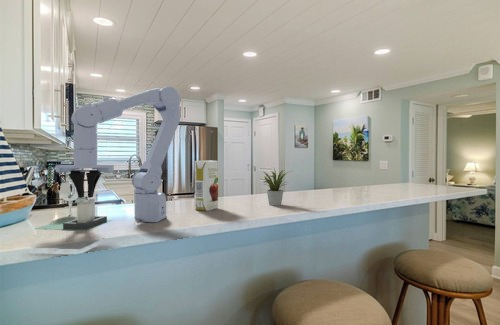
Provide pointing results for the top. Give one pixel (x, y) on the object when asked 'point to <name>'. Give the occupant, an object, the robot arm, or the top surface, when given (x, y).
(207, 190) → the juice carton
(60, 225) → the circuit board
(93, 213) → the plug
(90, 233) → the top surface
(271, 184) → the house plant
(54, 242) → the top surface
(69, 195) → the wineglass
